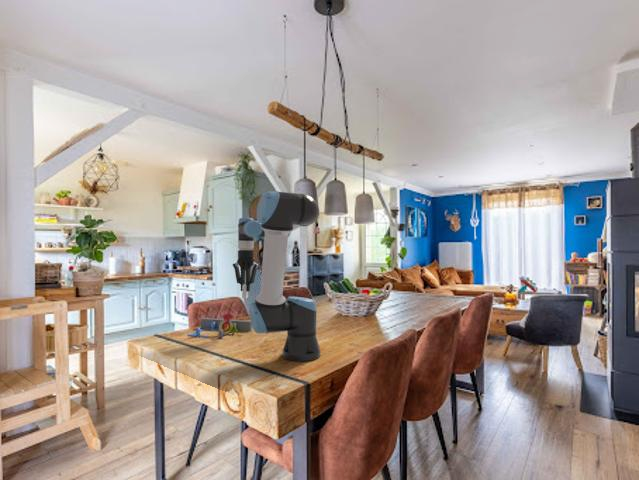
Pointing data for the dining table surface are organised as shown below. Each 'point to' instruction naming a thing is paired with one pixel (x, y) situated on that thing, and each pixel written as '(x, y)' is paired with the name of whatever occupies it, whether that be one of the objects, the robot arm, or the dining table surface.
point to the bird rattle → (225, 326)
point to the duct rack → (214, 325)
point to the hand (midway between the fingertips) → (245, 298)
